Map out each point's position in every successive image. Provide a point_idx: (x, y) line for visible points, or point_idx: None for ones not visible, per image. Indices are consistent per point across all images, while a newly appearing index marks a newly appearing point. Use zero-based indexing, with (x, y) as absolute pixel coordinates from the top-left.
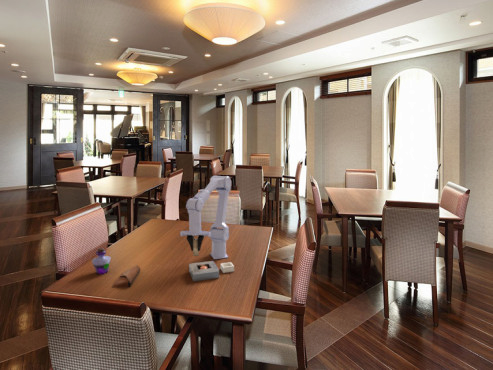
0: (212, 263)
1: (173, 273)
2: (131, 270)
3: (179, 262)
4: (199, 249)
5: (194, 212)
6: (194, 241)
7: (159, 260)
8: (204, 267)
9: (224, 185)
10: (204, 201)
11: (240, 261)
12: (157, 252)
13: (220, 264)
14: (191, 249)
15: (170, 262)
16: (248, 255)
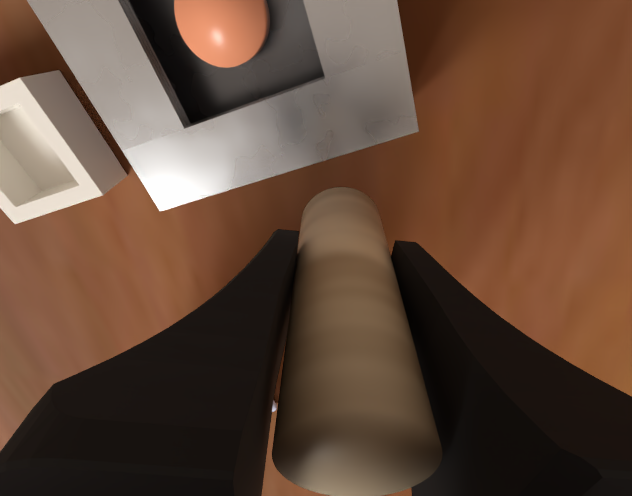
0: (140, 133)
1: (563, 65)
2: None
3: (481, 300)
4: (270, 237)
5: None
6: (380, 372)
7: (625, 335)
8: (208, 14)
9: None
10: None
11: (31, 301)
12: None
13: (100, 184)
14: (421, 250)
15: (550, 303)
16: (29, 379)
